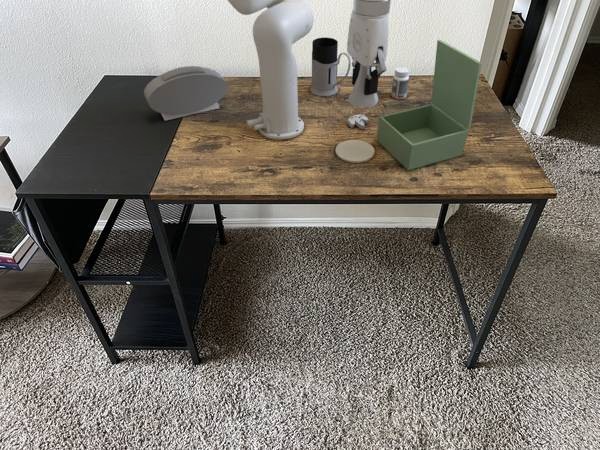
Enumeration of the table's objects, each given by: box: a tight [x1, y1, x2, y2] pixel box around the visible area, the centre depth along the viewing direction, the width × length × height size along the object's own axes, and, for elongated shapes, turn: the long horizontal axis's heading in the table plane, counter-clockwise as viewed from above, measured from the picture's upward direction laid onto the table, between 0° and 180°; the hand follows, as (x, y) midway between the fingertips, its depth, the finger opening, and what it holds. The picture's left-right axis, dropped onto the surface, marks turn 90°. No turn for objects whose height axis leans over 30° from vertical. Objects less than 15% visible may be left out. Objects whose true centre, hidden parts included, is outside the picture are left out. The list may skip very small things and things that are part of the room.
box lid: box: [430, 39, 482, 130], centre depth 109 cm, size 17×15×1 cm
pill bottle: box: [390, 66, 410, 100], centre depth 137 cm, size 5×5×8 cm
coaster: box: [335, 139, 376, 164], centre depth 117 cm, size 10×10×1 cm
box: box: [376, 103, 469, 171], centre depth 116 cm, size 16×15×7 cm
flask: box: [347, 64, 379, 108], centre depth 104 cm, size 7×7×10 cm
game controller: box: [339, 109, 369, 130], centre depth 128 cm, size 6×12×3 cm, turn 49°
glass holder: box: [310, 36, 352, 97], centre depth 137 cm, size 9×14×15 cm, turn 46°
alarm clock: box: [143, 65, 229, 121], centre depth 131 cm, size 23×6×13 cm, turn 115°
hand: (364, 87), depth 105 cm, fingers closed on flask, 4 cm apart
